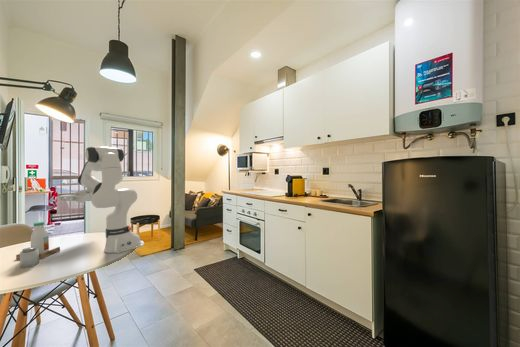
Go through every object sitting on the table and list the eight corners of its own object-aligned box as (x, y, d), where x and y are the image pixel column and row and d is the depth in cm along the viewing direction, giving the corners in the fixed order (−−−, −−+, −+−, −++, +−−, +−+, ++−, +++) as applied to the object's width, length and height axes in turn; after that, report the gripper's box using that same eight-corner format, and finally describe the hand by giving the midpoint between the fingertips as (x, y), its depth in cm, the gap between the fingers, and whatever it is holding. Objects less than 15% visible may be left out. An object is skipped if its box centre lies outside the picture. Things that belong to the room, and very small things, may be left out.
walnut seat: (39, 250, 137) (39, 247, 137) (60, 250, 136) (59, 247, 136) (16, 259, 124) (16, 255, 124) (39, 259, 124) (39, 255, 124)
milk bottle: (38, 257, 127) (37, 224, 127) (27, 256, 128) (25, 224, 127) (52, 251, 135) (51, 220, 134) (41, 251, 135) (40, 220, 135)
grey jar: (40, 261, 122) (39, 245, 121) (37, 265, 116) (37, 248, 116) (22, 264, 117) (21, 248, 117) (18, 269, 112) (18, 252, 112)
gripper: (67, 192, 160) (48, 195, 146) (94, 192, 160) (78, 195, 146) (67, 200, 161) (49, 204, 147) (94, 200, 160) (78, 204, 147)
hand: (64, 199), depth 146 cm, fingers closed
